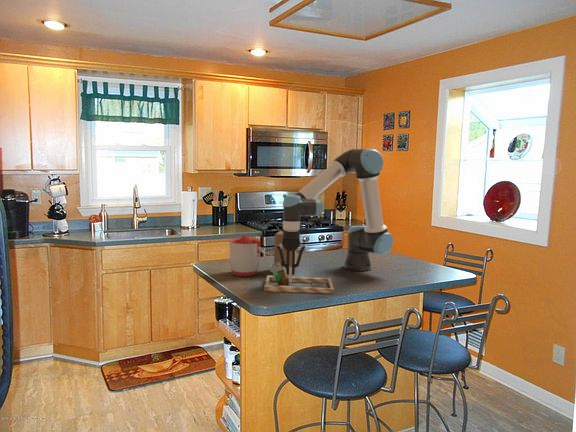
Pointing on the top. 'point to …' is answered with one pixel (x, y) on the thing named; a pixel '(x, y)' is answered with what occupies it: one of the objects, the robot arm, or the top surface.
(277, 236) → the block
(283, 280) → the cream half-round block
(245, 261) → the citrus juicer
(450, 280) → the top surface
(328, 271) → the top surface
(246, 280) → the top surface
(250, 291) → the top surface
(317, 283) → the trap channel
